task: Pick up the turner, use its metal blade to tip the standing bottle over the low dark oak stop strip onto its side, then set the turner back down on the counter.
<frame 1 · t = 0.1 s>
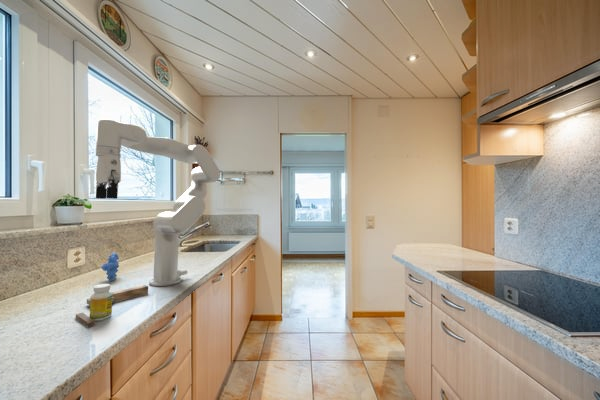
hand: (106, 198, 96), 37 cm above the countertop, tool pointing down, fingers open, 9 cm apart
stop strip: (85, 321, 75), on the countertop
turner: (117, 300, 92), on the countertop
grapes: (109, 280, 117), on the countertop
supplement bottle: (100, 318, 78), on the countertop
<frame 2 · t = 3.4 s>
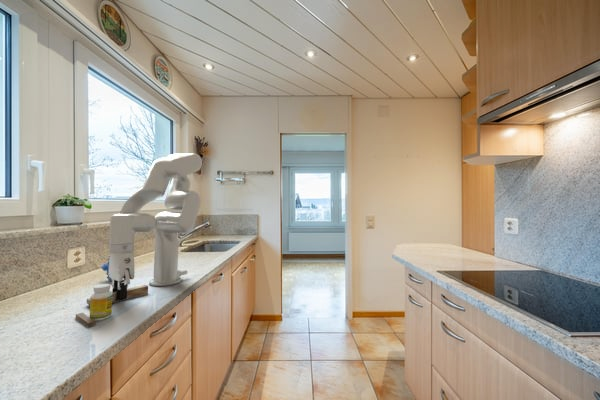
hand: (119, 298, 93), 0 cm above the countertop, tool pointing down, fingers closed on turner, 2 cm apart
turner: (117, 300, 92), on the countertop, touching gripper
everything else where it was.
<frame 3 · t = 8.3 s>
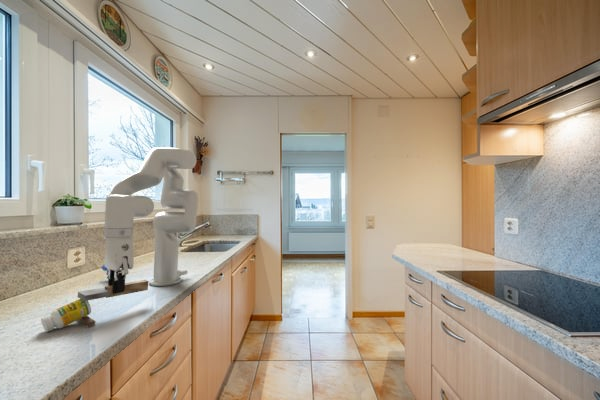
hand: (116, 291, 81), 7 cm above the countertop, tool pointing down, fingers closed on turner
turner: (112, 295, 81), point 6 cm above the countertop, touching gripper
supplement bottle: (88, 305, 76), point 4 cm above the countertop, touching stop strip
everything else where it was.
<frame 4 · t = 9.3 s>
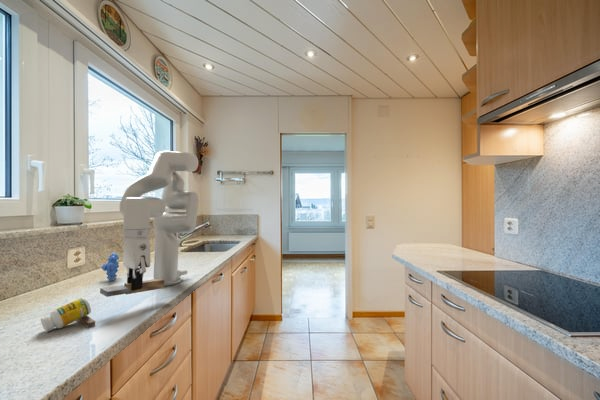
hand: (134, 288, 86), 6 cm above the countertop, tool pointing down, fingers closed on turner
turner: (131, 292, 85), point 5 cm above the countertop, touching gripper
everything else where it was.
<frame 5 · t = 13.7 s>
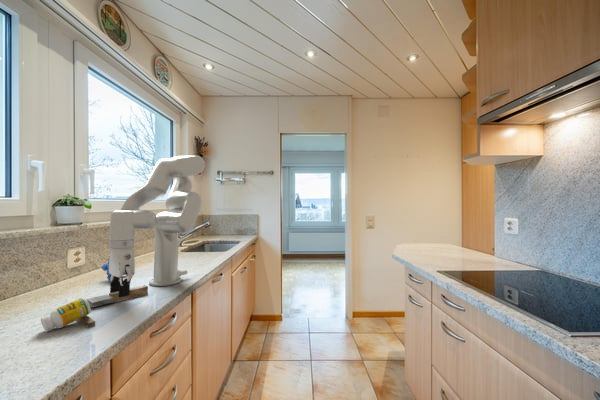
hand: (119, 293, 93), 2 cm above the countertop, tool pointing down, fingers open, 6 cm apart
turner: (116, 300, 92), on the countertop
everything else where it was.
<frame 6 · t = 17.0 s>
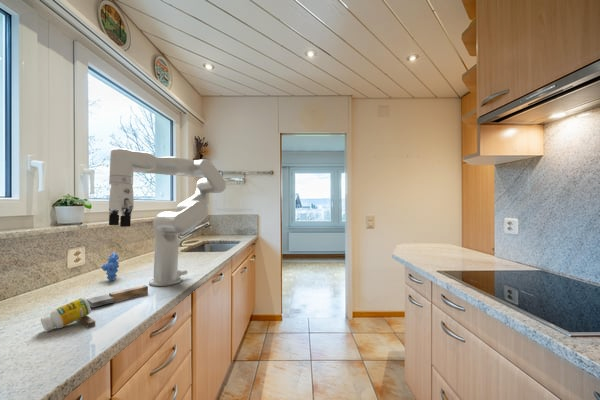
hand: (119, 225, 98), 26 cm above the countertop, tool pointing down, fingers open, 9 cm apart
nothing on the countertop moved.
at the end: supplement bottle tilted 104°; turner touching countertop; the gripper is holding nothing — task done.
